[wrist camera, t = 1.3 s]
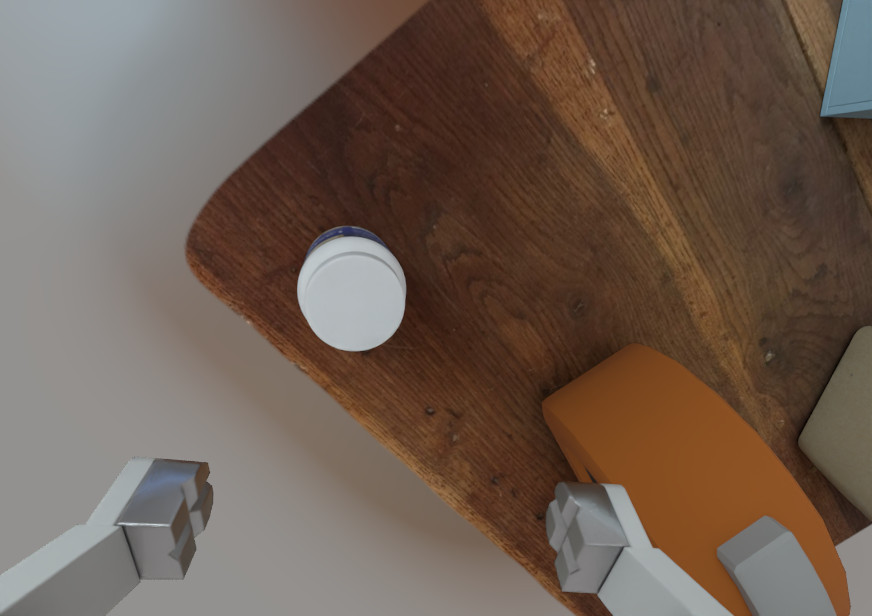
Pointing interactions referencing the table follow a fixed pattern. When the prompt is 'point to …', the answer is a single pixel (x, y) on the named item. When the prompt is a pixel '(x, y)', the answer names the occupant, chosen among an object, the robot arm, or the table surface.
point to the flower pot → (845, 425)
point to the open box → (851, 64)
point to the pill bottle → (351, 289)
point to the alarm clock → (700, 484)
